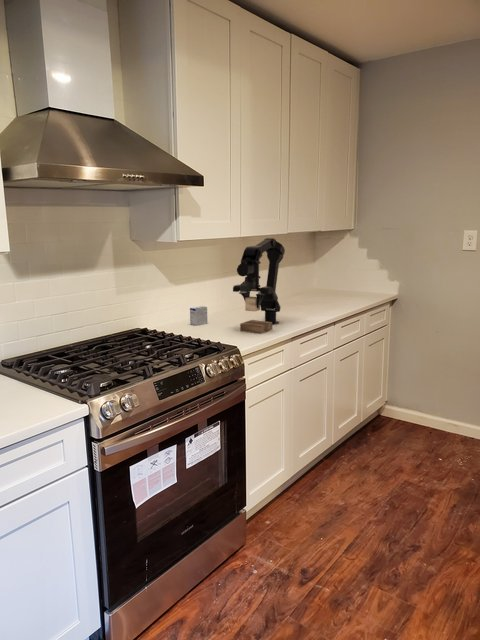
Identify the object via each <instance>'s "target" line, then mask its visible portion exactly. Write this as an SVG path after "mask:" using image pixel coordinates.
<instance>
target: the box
mask: <svg viewBox="0 0 480 640" xmlns="http://www.w3.org/2000/svg"><path fill="white" fill-rule="evenodd" d="M189 323H190V325H191V326H196V327H197V326H201V325H205V324H208V323H209V321H208V307H207V306H205V305H204V306H203V305H202V306H201V305H200V306H196V307H194V306H193V307H190V308H189Z"/></svg>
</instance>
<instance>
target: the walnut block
mask: <svg viewBox="0 0 480 640" xmlns="http://www.w3.org/2000/svg"><path fill="white" fill-rule="evenodd" d="M239 327H240V332H244V333H251V334H257V335H258V334H259V335H262V334H264V333H267V332H269V331H273V324H272V322H267V321H265V320H259V319H258V320H257V319H251V320H247V321H244V322H241V323H240V325H239Z"/></svg>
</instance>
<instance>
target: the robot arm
mask: <svg viewBox="0 0 480 640" xmlns="http://www.w3.org/2000/svg"><path fill="white" fill-rule="evenodd" d="M285 251H286V250H285V247H284V246H283V244H282V243H280V242H278V240H277V239H275V238H272V237H271V238H269V237H267V238H264V239H263V240H261V241H260V242H259V243H257V244H256V245H250V246H246V247H245V248H244V251H243V254H242V256H241V259H240V264H238V266H237V268H236V272H237V274H238V276H239V277H244V281H243V282H241V283H240V284H236V285H233V287H232V292H233V293H234V292H235V293H238V294H240V295H241V296H242V298H243V300H244V301H245V298H247V297H251V296H250V295H251V292H257V293H256V294H255V297H257V308H259V306H260V311H261V312H264V321H267V322H272V325H275V324H278V323H279V322H280V321H279V320H278V321H277V313H280V312H281V305H280V302H279V298H278V294H277V293H276V292H277V291H276V290H277V289H276V288H277V281H278V273H279V266H280V263H281V261H282V260H283V259H284V256H285ZM265 252H266V257H267V260H268V262H269V263H268V270H267V278H266V284H265V286H261V284H260V279H261V275H260V265H261V261H260V259H261V258H262V257H263V254H264V253H265Z"/></svg>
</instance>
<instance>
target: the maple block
mask: <svg viewBox="0 0 480 640" xmlns="http://www.w3.org/2000/svg"><path fill="white" fill-rule="evenodd" d="M244 303H245V306H244V307H245V309H244V310H245V311H247V312H254V313H255V312H257V311H261V306H259V308H257V296H250V297H247V298H245V300H244Z"/></svg>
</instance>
